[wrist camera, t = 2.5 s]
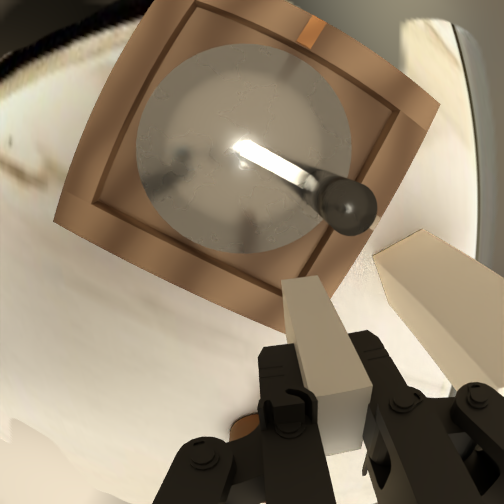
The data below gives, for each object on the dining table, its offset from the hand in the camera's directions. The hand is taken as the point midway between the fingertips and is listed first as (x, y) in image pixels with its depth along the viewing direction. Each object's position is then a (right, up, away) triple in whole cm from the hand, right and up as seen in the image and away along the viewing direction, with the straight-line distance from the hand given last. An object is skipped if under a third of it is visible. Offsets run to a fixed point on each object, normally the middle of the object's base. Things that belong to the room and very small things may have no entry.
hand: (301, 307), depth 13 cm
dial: (-3, +10, +10) cm, 15 cm away
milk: (+13, +1, +16) cm, 21 cm away
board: (-3, +11, +12) cm, 16 cm away
